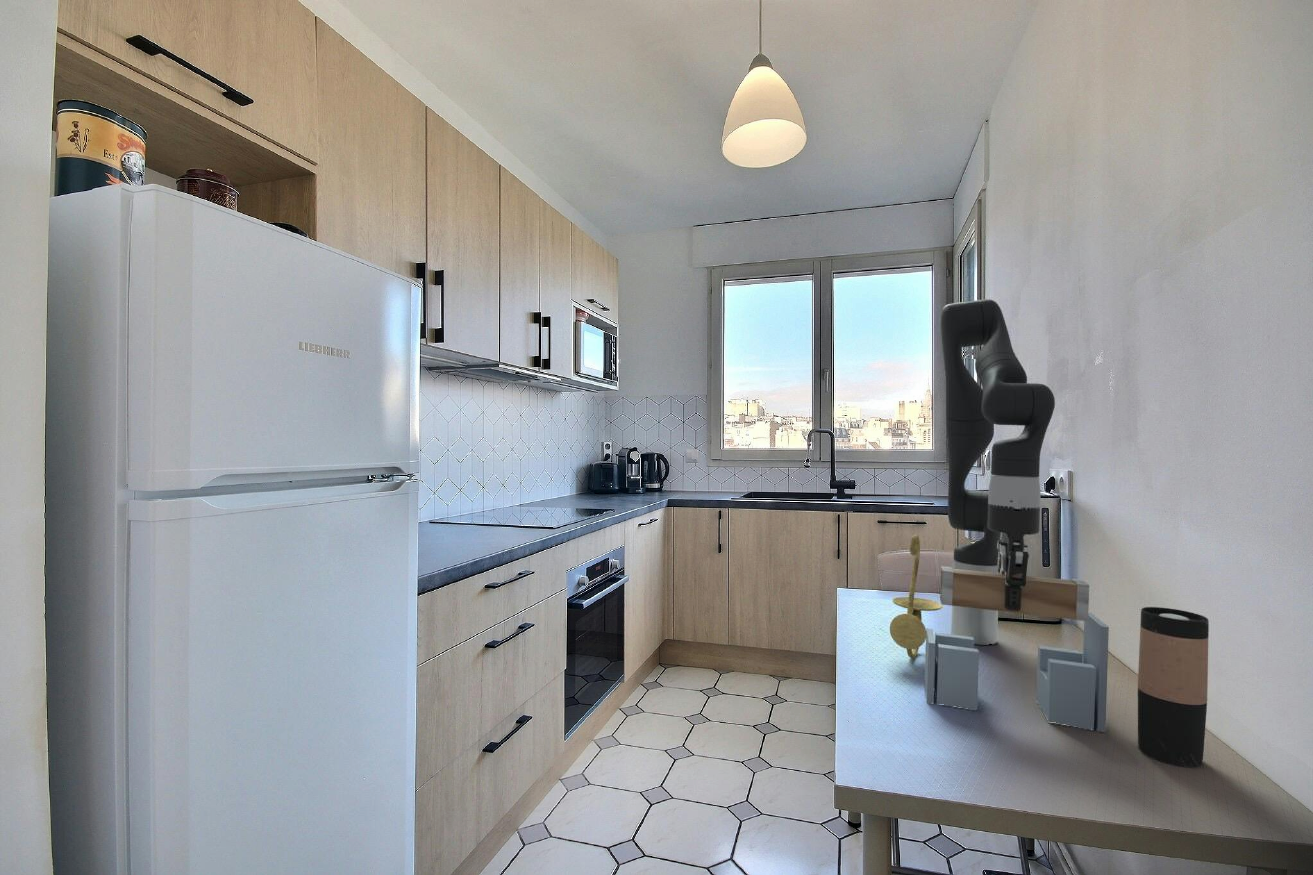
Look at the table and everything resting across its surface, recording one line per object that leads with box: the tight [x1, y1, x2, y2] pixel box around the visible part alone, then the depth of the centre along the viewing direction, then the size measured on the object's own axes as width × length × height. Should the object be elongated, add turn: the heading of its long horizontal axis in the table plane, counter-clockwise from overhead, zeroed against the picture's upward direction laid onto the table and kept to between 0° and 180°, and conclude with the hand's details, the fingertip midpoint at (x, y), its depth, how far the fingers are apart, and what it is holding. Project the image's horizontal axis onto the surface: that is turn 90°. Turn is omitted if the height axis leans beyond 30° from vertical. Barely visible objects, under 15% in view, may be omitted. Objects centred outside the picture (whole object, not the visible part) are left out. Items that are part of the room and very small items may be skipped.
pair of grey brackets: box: [924, 611, 1110, 733], centre depth 105 cm, size 9×25×16 cm, turn 69°
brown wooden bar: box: [939, 565, 1090, 622], centre depth 105 cm, size 4×21×6 cm, turn 69°
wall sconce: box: [889, 534, 944, 659], centre depth 128 cm, size 14×10×25 cm
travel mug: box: [1137, 606, 1210, 768], centre depth 90 cm, size 8×8×20 cm
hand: (1010, 606), depth 105 cm, fingers closed on brown wooden bar, 4 cm apart
